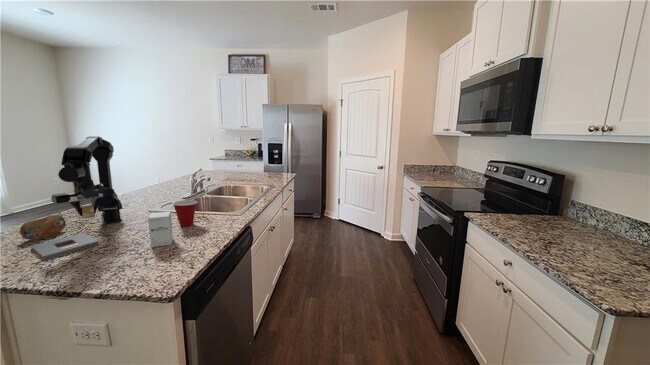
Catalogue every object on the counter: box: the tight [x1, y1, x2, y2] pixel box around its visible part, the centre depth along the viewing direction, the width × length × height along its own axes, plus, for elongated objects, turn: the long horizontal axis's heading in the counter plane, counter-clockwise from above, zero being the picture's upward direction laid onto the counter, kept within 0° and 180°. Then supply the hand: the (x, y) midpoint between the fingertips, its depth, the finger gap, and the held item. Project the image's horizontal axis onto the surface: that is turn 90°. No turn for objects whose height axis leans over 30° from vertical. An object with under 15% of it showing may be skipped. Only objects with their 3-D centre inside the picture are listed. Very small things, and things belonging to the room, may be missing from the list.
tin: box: [19, 214, 66, 241], centre depth 116 cm, size 15×3×8 cm, turn 168°
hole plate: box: [30, 232, 100, 261], centre depth 106 cm, size 16×16×2 cm
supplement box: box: [147, 211, 174, 248], centre depth 110 cm, size 7×7×13 cm
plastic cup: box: [172, 200, 198, 228], centre depth 131 cm, size 11×11×12 cm
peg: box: [80, 203, 96, 219], centre depth 110 cm, size 4×4×5 cm
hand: (88, 214), depth 111 cm, fingers closed on peg, 4 cm apart
